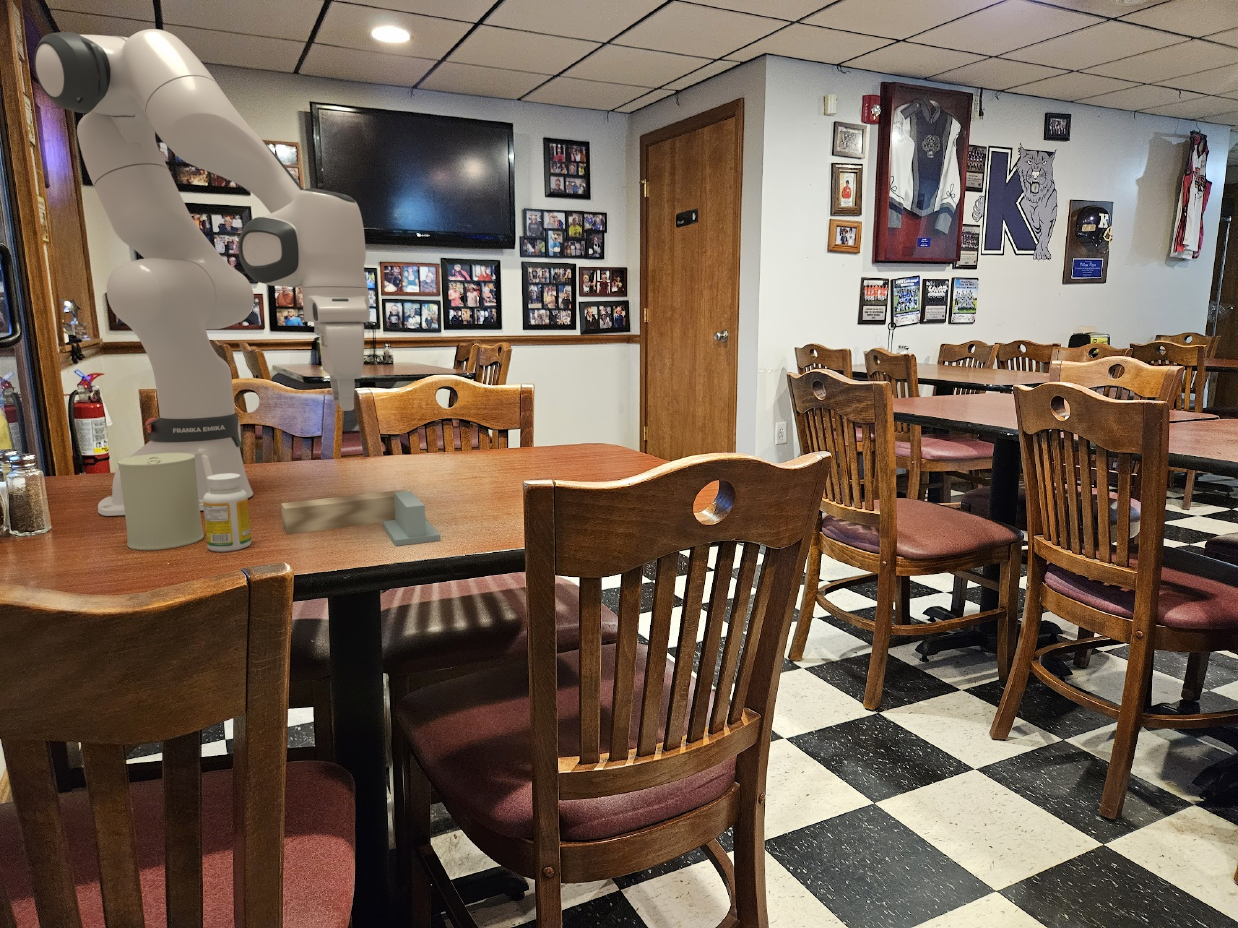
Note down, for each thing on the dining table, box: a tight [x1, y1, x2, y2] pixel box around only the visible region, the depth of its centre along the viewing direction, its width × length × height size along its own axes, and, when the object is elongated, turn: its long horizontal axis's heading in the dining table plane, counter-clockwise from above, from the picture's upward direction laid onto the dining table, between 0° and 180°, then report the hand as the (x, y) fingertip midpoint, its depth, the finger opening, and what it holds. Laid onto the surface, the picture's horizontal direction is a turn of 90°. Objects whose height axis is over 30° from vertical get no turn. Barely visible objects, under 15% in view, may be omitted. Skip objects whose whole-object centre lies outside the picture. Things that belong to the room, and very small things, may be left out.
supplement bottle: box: [203, 473, 252, 553], centre depth 107 cm, size 5×5×10 cm
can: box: [117, 453, 205, 551], centre depth 110 cm, size 9×9×12 cm
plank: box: [281, 489, 408, 535], centre depth 119 cm, size 18×4×4 cm, turn 120°
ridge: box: [381, 490, 441, 547], centre depth 113 cm, size 6×11×5 cm, turn 25°
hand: (343, 406), depth 116 cm, fingers open, 8 cm apart
